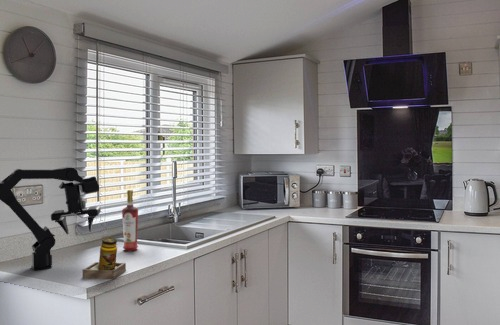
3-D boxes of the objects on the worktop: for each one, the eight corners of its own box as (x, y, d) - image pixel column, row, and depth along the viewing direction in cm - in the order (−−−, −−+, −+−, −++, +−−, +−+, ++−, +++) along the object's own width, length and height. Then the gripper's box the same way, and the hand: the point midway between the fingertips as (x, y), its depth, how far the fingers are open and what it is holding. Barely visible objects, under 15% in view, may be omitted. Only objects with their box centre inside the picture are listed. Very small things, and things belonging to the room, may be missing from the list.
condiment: (109, 275, 166) (112, 244, 164) (89, 269, 168) (92, 239, 166) (119, 267, 173) (123, 238, 171) (100, 262, 175) (103, 233, 173)
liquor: (120, 251, 205) (119, 191, 204) (124, 248, 213) (124, 189, 212) (136, 251, 205) (135, 190, 204) (140, 248, 213) (139, 189, 212)
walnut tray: (82, 277, 165) (82, 269, 165) (96, 269, 176) (95, 262, 176) (114, 278, 164) (114, 270, 164) (125, 270, 175) (125, 262, 175)
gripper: (100, 189, 194) (105, 224, 197) (55, 194, 192) (61, 229, 195) (94, 196, 183) (100, 232, 186) (47, 201, 181) (53, 238, 184)
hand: (79, 232), depth 188 cm, fingers open, 9 cm apart
